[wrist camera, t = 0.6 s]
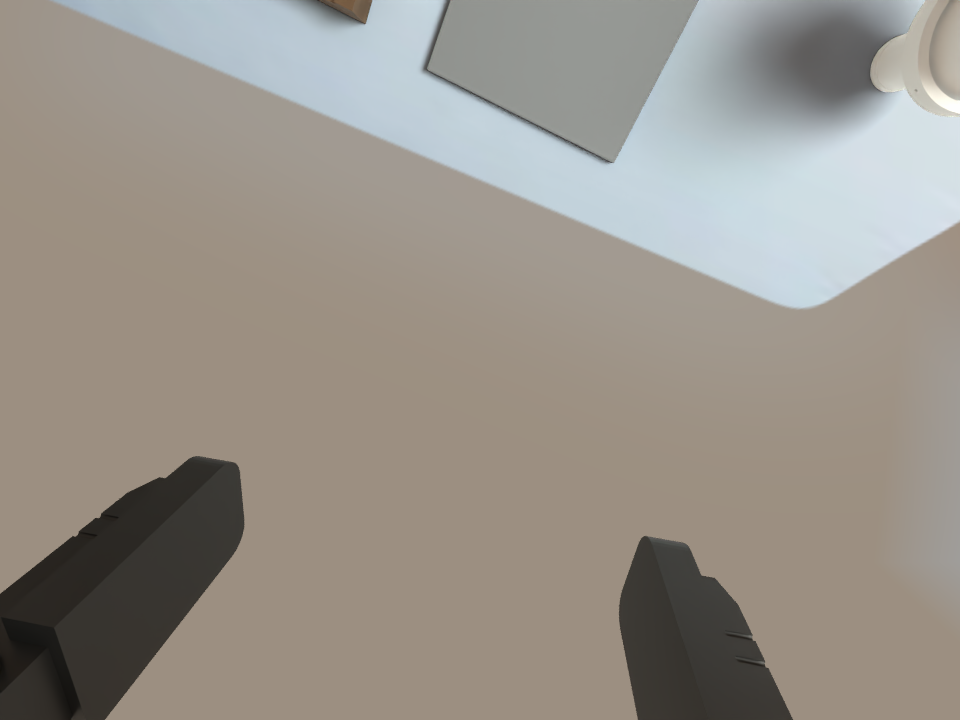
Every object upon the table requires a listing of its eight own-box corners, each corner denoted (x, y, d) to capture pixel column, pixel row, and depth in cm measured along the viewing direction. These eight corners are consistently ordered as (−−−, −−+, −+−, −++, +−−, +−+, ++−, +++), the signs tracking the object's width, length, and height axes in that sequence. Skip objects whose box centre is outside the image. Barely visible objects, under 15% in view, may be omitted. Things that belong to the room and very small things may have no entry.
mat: (504, -151, 26) (504, -158, 26) (715, -36, 27) (719, -40, 27) (428, 70, 31) (426, 68, 30) (612, 163, 32) (613, 162, 31)
